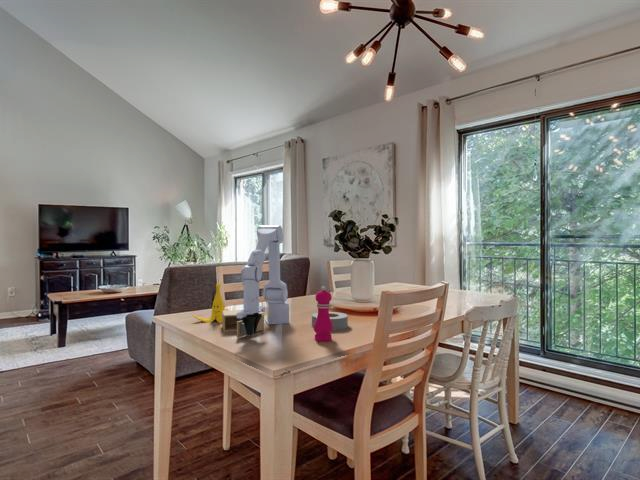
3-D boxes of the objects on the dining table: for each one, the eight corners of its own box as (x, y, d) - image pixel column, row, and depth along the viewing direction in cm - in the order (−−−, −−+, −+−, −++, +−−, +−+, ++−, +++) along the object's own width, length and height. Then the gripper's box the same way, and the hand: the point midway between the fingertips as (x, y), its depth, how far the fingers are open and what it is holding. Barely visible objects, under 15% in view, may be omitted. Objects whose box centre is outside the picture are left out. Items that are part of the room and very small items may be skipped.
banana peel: (233, 324, 169) (234, 286, 169) (192, 323, 171) (192, 285, 171) (245, 316, 185) (246, 281, 185) (207, 315, 188) (207, 280, 187)
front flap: (262, 328, 160) (263, 314, 160) (274, 330, 157) (275, 316, 157) (236, 337, 146) (236, 321, 146) (249, 340, 143) (249, 323, 143)
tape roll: (323, 321, 177) (323, 310, 177) (353, 325, 170) (353, 313, 169) (304, 328, 164) (305, 316, 164) (336, 333, 156) (337, 320, 156)
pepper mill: (316, 342, 142) (316, 287, 141) (311, 337, 149) (311, 285, 148) (335, 341, 144) (335, 287, 143) (329, 336, 151) (329, 284, 150)
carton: (260, 323, 170) (260, 308, 170) (263, 329, 161) (263, 313, 160) (222, 326, 165) (222, 310, 165) (223, 331, 156) (223, 315, 156)
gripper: (248, 301, 137) (247, 340, 137) (271, 295, 150) (271, 331, 150) (232, 299, 140) (231, 337, 140) (256, 294, 153) (256, 328, 153)
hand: (251, 334), depth 145 cm, fingers closed, pressing on front flap
